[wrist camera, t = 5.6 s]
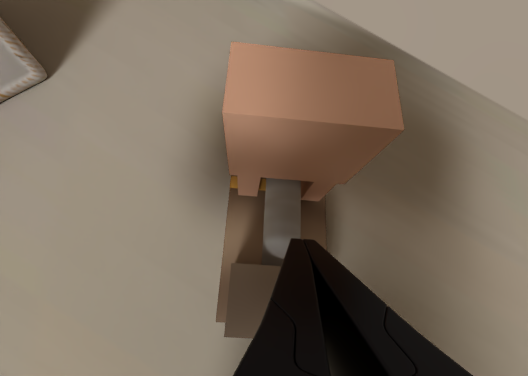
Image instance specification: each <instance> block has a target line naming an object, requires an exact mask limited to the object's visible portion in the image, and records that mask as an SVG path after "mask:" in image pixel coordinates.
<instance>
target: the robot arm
mask: <svg viewBox="0 0 528 376" xmlns="http://www.w3.org/2000/svg"><path fill="white" fill-rule="evenodd" d="M233 376H473V375H471V374H470V373H469V372H468V371H466V370H465V369H464V368H463V367H461V366H460V365H459V364H457V363H456V362H455V361H454V360H452V359H451V358H450V357H449V356H447V355H446V354H445V353H443V352H442V351H441V350H440V349H438V348H437V347H436V346H435V345H433V344H432V343H431V342H430V341H428V340H427V339H426V338H425V337H423V336H422V335H421V334H420V333H418V332H417V331H416V330H415V329H414V328H413V327H411V326H410V325H409V324H408V323H407V322H406V321H404V320H403V319H402V318H401V317H400V316H399V315H398V314H397V313H395V312H394V311H393V310H392V309H391V308H390V307H387V305H386V304H385V303H384V302H383V301H382V300H381V299H380V298H379V297H378V296H376V295H375V294H374V293H373V292H372V291H371V290H370V289H369V288H368V287H366V286H365V285H364V284H363V283H362V282H361V281H360V280H359V279H358V278H356V277H355V276H354V275H353V274H352V273H351V272H350V271H349V270H348V269H346V268H345V267H344V266H343V265H342V264H341V263H340V262H339V261H338V260H336V259H335V258H334V257H333V256H332V255H331V254H330V253H329V252H328V251H327V250H325V249H324V248H323V247H322V246H321V245H320V244H319V243H318V242H317V241H315V240H313V239H303V240H302V239H300V238H291V239H290V242H289V245H288V248H287V251H286V254H285V257H284V259H283V262H282V265H281V268H280V271H279V274H278V277H277V280H276V283H275V285H274V288H273V291H272V294H271V297H270V301H269V302H268V305H267V308H266V311H265V313H264V316H263V318H262V321H261V323H260V326H259V328H258V330H257V332H256V334H255V336H254V338H253V340H252V342H251V343H250V345H249V347H248V349H247V351H246V353H245V354H244V356H243V358H242V360H241V362H240V364H239V366H238V367H237V369H236V371H235V373H234V375H233Z"/></svg>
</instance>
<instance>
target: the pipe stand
mask: <svg viewBox="0 0 528 376" xmlns="http://www.w3.org/2000/svg"><path fill="white" fill-rule="evenodd" d="M291 238H300V239H302V240H303V239H313V240H315V241H317V242H318V243H319V244H320V245H321V246H322V247H323V248H324V249H325V250H327V244H326V209H325V196H324V197H323V198H322V199H321V200H320V201H308V200H301V181H299V180H287V179H275V178H262V177H261V179H260V184H259V189H258V194H257V197H256V196H243V195H238V179H237V175H231V181H230V192H229V201H228V211H227V220H226V230H225V239H224V248H223V258H222V267H221V277H220V286H219V295H218V305H217V314H216V322H226V323H225V334H224V337H236V338H254V336H255V334H256V332H257V330H258V328H259V326H260V323H261V321H262V318H263V316H264V313H265V311H266V308H267V305H268V302H269V301H270V297H271V294H272V291H273V288H274V285H275V283H276V280H277V277H278V274H279V271H280V268H281V265H282V262H283V259H284V257H285V254H286V251H287V248H288V245H289V242H290V239H291Z"/></svg>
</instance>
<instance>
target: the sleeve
mask: <svg viewBox="0 0 528 376" xmlns="http://www.w3.org/2000/svg"><path fill="white" fill-rule="evenodd" d="M222 115H223V123H224V132H225V140H226V149H227V158H228V166H229V175H237V179H238V195H243V196H256V197H257V194H258V189H259V184H260V179H261V177H262V178H275V179H287V180H299V181H301V200H308V201H320V200H321V199H322V198H323V197H324V196H325V195H326V194H327V193H328V192H329V191H330V190H331V189H332V188H333V187H334V186H335V185H336V184H345V183H346V182H347V181H348V180H350V179H351V178H352V177H353V176H354V175H355V174H356V173H357V172H358V171H360V170H361V169H362V168H363V167H364V166H365V165H366V164H367V163H368V162H369V161H371V160H372V159H373V158H374V157H375V156H376V155H377V154H378V153H379V152H381V151H382V150H383V149H384V148H385V147H386V146H387V145H388V144H389V143H391V142H392V141H393V140H394V139H395V138H396V137H397V136H398V135H399V134H401V133H402V132H403V131H404V124H403V118H402V111H401V105H400V98H399V92H398V85H397V79H396V72H395V66H394V60H388V59H379V58H370V57H361V56H353V55H344V54H335V53H326V52H318V51H309V50H300V49H291V48H283V47H274V46H265V45H256V44H248V43H239V42H231V49H230V57H229V64H228V72H227V80H226V87H225V95H224V102H223V110H222Z"/></svg>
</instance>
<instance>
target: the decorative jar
mask: <svg viewBox="0 0 528 376" xmlns="http://www.w3.org/2000/svg"><path fill="white" fill-rule="evenodd" d="M46 78H47V74H46V71H45V69H44V68H43V67H42V66H41V65H40V63H39V62H38V61H37V60H36V59H35V58H34V56H33V55H32V54H31V53H30V52H29V50H28V49H27V48H26V47H25V46H24V44H23V43H22V42H21V41H20V40H19V39H18V38H17V36H16V35H15V34H14V33H13V31H12V30H11V29H10V28H9V27H8V25H7V24H6V23H5V22H4V21H3V20H2V18H1V17H0V103H1V102H3V101H4V100H6V99H8V98H10V97H12V96H14V95H16V94H18V93H20V92H22V91H24V90H26V89H28V88H30V87H32V86H33V85H36V84H38V83H40V82H42V81H43V80H45V79H46Z"/></svg>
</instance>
